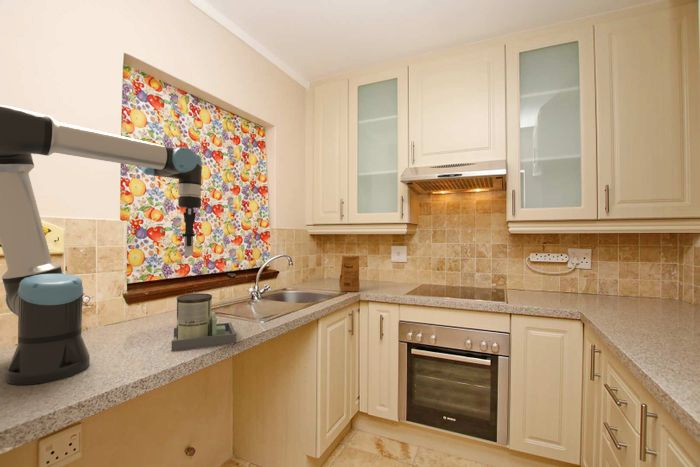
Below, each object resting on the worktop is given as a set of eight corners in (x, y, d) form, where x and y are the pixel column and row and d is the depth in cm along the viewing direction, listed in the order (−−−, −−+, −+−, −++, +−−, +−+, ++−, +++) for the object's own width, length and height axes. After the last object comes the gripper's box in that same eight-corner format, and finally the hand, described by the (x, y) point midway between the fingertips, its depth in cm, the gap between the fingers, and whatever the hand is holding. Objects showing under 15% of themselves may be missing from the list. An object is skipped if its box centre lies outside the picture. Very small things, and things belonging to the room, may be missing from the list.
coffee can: (170, 340, 105) (171, 296, 106) (202, 333, 113) (202, 292, 113) (184, 347, 99) (185, 300, 99) (217, 339, 107) (218, 296, 107)
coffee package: (339, 289, 211) (339, 255, 211) (358, 289, 212) (359, 255, 212) (339, 292, 201) (339, 256, 201) (359, 292, 202) (360, 256, 202)
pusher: (212, 342, 103) (212, 320, 103) (210, 332, 114) (210, 311, 114) (226, 341, 105) (226, 319, 105) (223, 331, 116) (223, 310, 116)
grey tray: (171, 351, 97) (171, 340, 97) (173, 336, 110) (174, 327, 110) (236, 343, 104) (236, 333, 105) (231, 330, 118) (231, 322, 118)
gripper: (202, 193, 112) (200, 256, 112) (200, 200, 135) (199, 252, 134) (177, 192, 109) (175, 256, 109) (179, 199, 131) (178, 252, 131)
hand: (188, 254), depth 122 cm, fingers open, 13 cm apart
